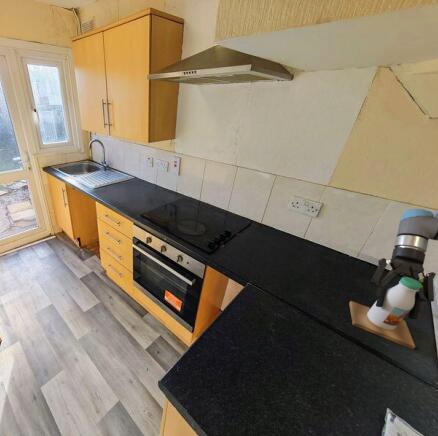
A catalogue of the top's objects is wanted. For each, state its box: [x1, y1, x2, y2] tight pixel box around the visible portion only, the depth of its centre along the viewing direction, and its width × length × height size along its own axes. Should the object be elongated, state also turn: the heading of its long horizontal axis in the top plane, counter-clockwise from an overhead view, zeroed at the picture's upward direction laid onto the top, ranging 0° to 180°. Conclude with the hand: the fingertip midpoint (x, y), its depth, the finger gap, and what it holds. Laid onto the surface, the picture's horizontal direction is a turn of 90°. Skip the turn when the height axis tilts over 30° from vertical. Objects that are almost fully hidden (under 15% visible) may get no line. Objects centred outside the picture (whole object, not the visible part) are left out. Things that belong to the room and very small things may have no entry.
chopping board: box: [348, 300, 416, 350], centre depth 83 cm, size 16×12×2 cm
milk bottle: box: [367, 276, 423, 330], centre depth 78 cm, size 8×8×20 cm
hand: (395, 312), depth 76 cm, fingers closed on milk bottle, 8 cm apart
